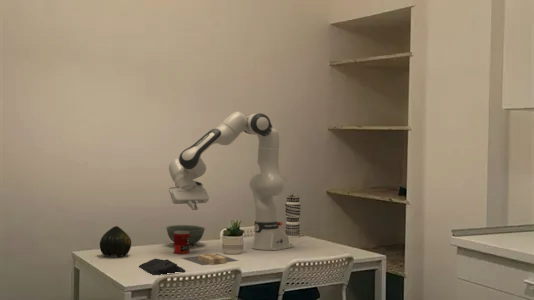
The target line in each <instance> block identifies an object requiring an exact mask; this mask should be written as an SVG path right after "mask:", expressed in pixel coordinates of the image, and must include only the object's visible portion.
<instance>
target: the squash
mask: <svg viewBox="0 0 534 300" xmlns="http://www.w3.org/2000/svg"><path fill="white" fill-rule="evenodd" d="M99 248H100V249H99V250H100V252H101V254H102V255H103V256H105V257H112V256H116V258H121V257H124V256H126V255H128V253H130V250H131V248H132V240H131V237H130V236H129V234H128V233H127V232H125V231H124V230H123V229H122V228H121V227H120V226H118V225H115V226H113V227H111V228H110V229H109V230H107V231H106V232H105V233H104V234H103V236H102V237H101V239H100V241H99Z"/></svg>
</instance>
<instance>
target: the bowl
mask: <svg viewBox="0 0 534 300" xmlns="http://www.w3.org/2000/svg"><path fill="white" fill-rule="evenodd" d="M205 230H206V228H205V227H203V226H199V225H193V224H192V225H191V224H176V225H175V224H174V225H167V226H166V231H167V236H168V238H169V239H170V240H171V241H172V242H173V243H174V232H175V231H189V233H190V242H189V247H193V246H194V245H195V244H197V243H199V241H200V240H201V239H202V237H203V235H204V233H205V232H204V231H205Z"/></svg>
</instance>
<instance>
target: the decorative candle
mask: <svg viewBox="0 0 534 300" xmlns="http://www.w3.org/2000/svg"><path fill="white" fill-rule="evenodd" d="M284 206H286V207H285V217H286V221H285V232H284V233H285V234H287V236H288V238H300V234H301V233H300V232H301V231H300V228H301V227H300V226H301V224H300V215H301V203H300V195H299V194H298V193H288V195H287V196H286V203H285V205H284Z"/></svg>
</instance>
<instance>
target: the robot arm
mask: <svg viewBox="0 0 534 300" xmlns="http://www.w3.org/2000/svg"><path fill="white" fill-rule="evenodd" d="M243 132H244V133H245V134H249V135H256V136H257V138H258V150H257V164H258V166H259V169H260V173H257V174H255V175H253V176H252V177H251V178H250V179H249V187H250V190H251V192H252V195H253V200H254V206H255V220H254V238H253V243H252V246H251V248H252V249H255V250H261V251H262V250H264V251H279V250H284V249H290V248H294V244H292V243H290V237H288V236H287V234H285V233H286V232H284V231H283V230H282V229H281V228H279V227H282V226H283V225H284V224H283V222H282V221H277V205H276V204H275V200H274V198H273V197H275V196H279V195H281V194H282V193H283V191H284V188H285V183H284V180H283V179H282V176H281V174H280V173H281V172H280V167H279V158H280V156H279V155H280V135H279V130H278V129H276V128H273V125H272V123H271V119H270V118H269V117H268V116H267V114H265V113H262V112H260V113H257V112H256V113H255V112H254V113H252V114H247V115H245V114H244V113H242V112H241V111H233V112H232V113H230V115H229V116H227V117H226V118H225V119H224V120H222V122H221V123H220V124H219V125H218V126H217V127H215V128H213V129H210V130H209V131H208V132H206V133H204V135H203V136H202V137H200V138H199V139H198V140H197V141H196V142H195V143H194V144H192V145H191V146H189V147H187V148H185V149H184V150H182V151H181V153H180V154H179V157H178V158H175V159H173V160H171V161H170V163H169V164H168V172H169V175H170V177H171V180H172V181H173V182H174V187H173V186H171V187H169V188H168V192H169V194H170V199H171V203H173V204H174V205H183V204H184V205H185V204H186V205H187V206H188V207H189V208H191V210H192V211H197V210H198V209H199V206H198V204H207V202H208V201H209V199H210V195H209V194H208V192H207V190H206V189H205V187H204V184H203V183H202V182H200V181H197V180H196V179H198V178H200V177H203V175H204V174H205V173H206V171H207V165H206V164H205V162H204V160H203V159H202V156H201V155H202V154H203V153H204V152H206V151H207V150H208V149H209V148H210V147H211V146H212V145H215V144H218V145H220V146H228V145H231V144H233V142H234V141H235V140H237V138H238V137H239V136H240V134H241V133H243Z"/></svg>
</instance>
